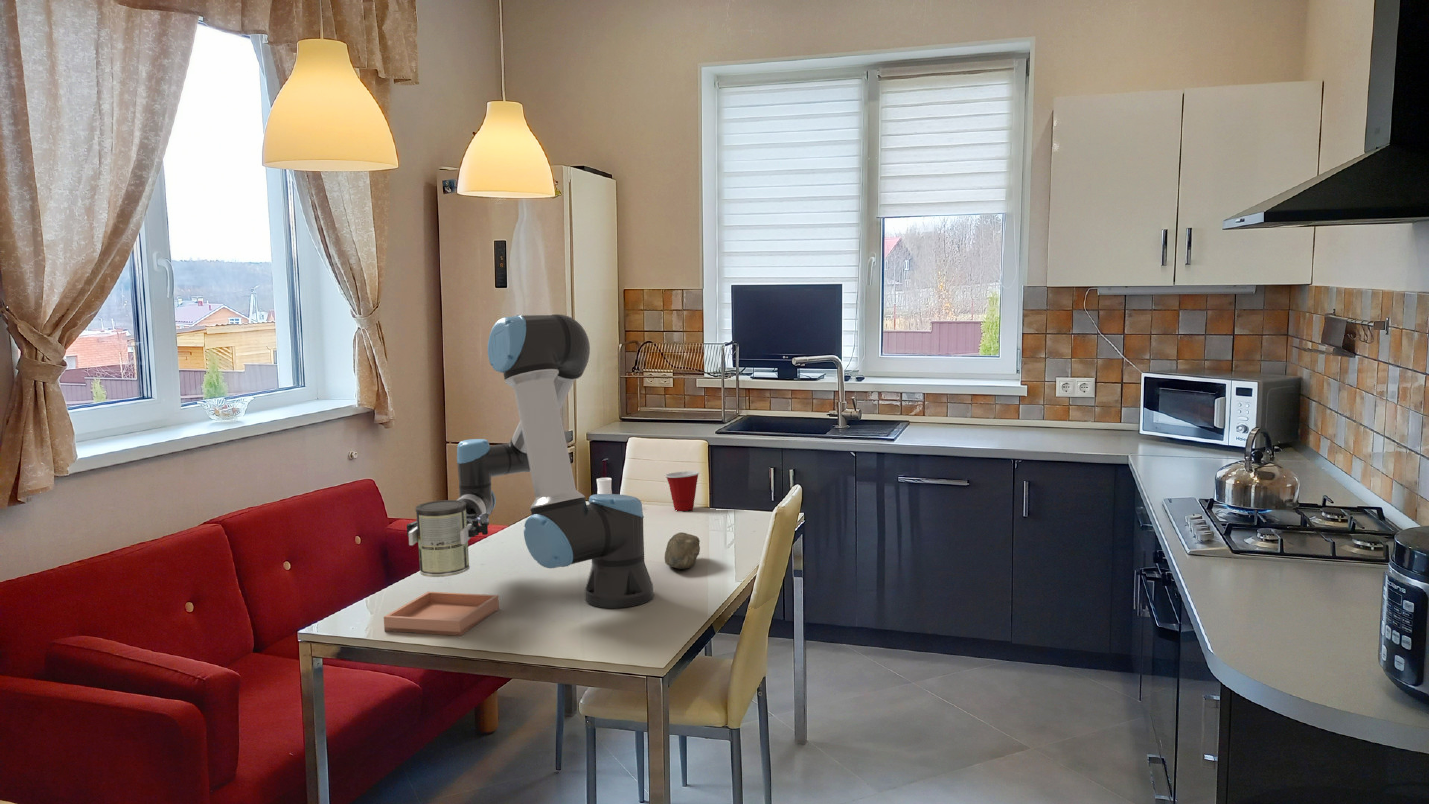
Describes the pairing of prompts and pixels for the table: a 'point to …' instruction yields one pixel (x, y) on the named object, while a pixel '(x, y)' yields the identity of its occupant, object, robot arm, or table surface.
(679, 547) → the stone
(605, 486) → the vase
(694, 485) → the plastic cup
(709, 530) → the table surface
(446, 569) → the coffee can
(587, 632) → the table surface
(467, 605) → the terracotta dish
